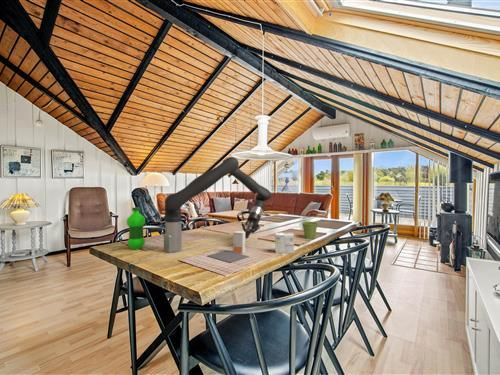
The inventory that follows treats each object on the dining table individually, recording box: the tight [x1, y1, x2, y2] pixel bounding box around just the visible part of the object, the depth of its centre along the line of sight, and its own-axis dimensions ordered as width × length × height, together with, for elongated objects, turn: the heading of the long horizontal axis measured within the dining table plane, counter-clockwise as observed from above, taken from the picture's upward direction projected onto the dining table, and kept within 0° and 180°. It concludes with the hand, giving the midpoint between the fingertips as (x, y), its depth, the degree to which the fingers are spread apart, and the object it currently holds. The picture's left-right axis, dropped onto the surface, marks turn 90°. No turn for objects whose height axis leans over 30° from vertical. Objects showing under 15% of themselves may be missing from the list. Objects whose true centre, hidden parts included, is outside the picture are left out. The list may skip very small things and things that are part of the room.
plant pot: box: [301, 221, 319, 240], centre depth 184 cm, size 12×12×11 cm
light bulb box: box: [274, 232, 295, 255], centre depth 146 cm, size 11×7×11 cm, turn 84°
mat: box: [207, 250, 250, 264], centre depth 137 cm, size 14×18×1 cm
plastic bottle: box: [126, 206, 146, 250], centre depth 155 cm, size 10×10×25 cm
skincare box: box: [232, 230, 246, 255], centre depth 145 cm, size 6×4×12 cm
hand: (245, 237), depth 150 cm, fingers closed
